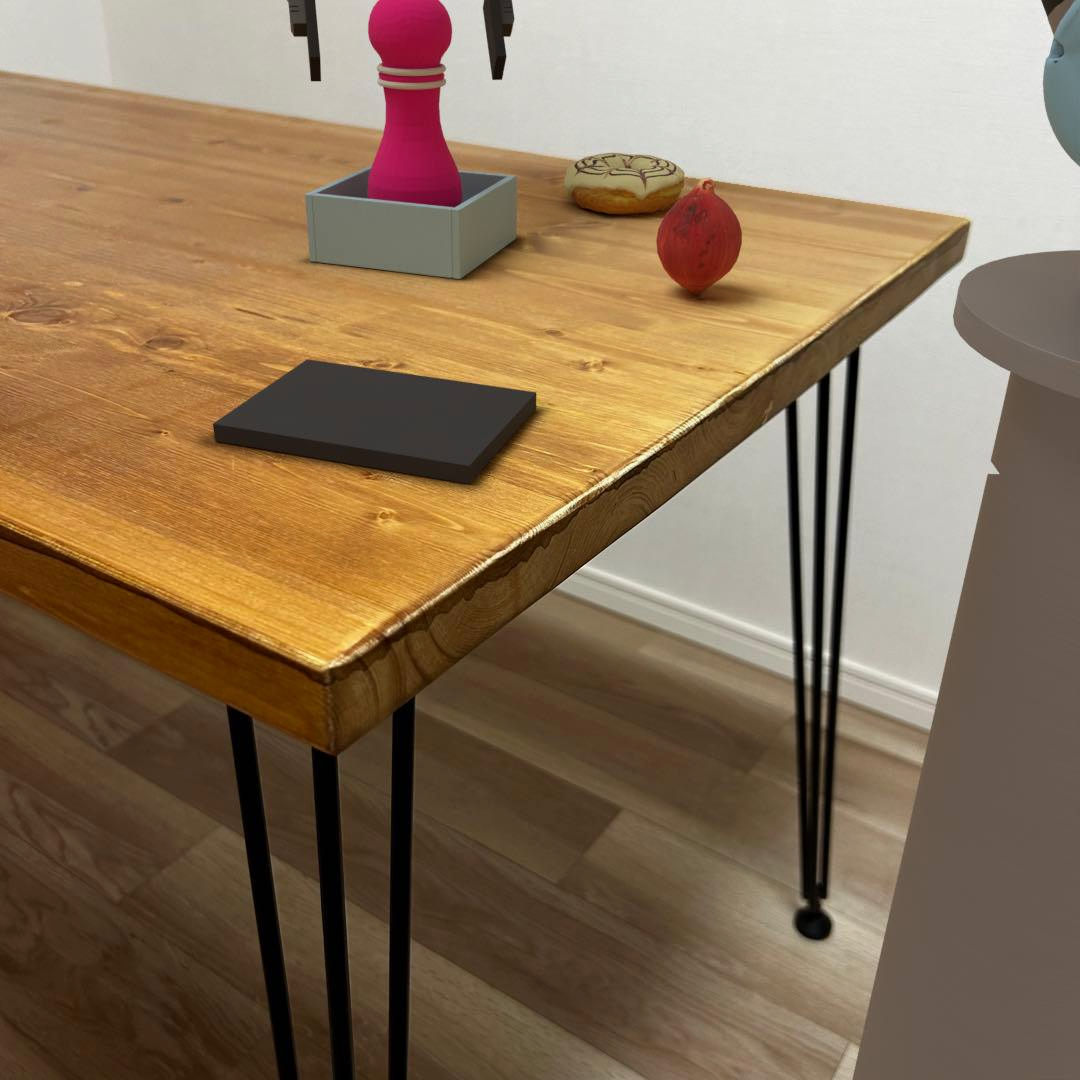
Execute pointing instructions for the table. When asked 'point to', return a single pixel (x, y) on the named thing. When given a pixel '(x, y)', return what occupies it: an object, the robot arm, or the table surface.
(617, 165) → the decorated donut
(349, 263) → the crate
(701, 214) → the onion
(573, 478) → the table surface
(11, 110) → the table surface
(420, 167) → the pepper mill
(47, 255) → the table surface
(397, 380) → the mat
